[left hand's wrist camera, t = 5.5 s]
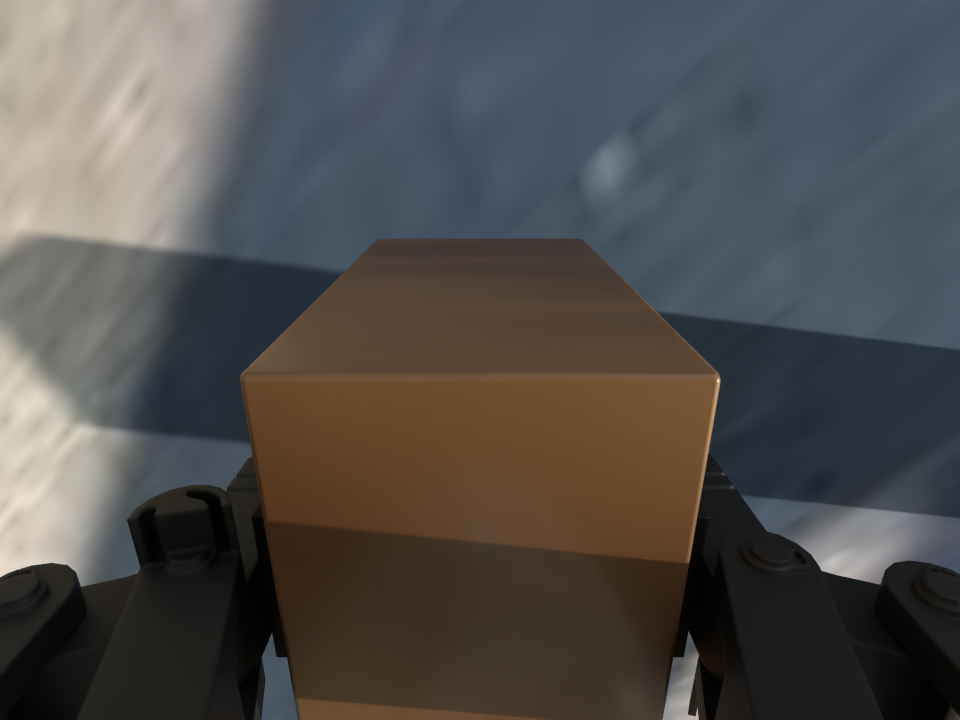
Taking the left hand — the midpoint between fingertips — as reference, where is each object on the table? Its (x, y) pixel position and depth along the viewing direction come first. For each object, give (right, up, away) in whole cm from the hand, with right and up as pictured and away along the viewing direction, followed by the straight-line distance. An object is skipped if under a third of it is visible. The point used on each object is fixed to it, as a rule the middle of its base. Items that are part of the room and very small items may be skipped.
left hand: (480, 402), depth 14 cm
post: (0, -23, +10) cm, 25 cm away
